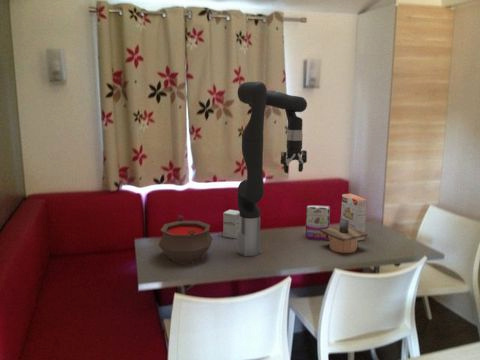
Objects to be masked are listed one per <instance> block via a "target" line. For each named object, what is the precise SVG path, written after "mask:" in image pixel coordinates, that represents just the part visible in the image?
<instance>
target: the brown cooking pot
mask: <svg viewBox="0 0 480 360" xmlns="http://www.w3.org/2000/svg"><path fill="white" fill-rule="evenodd" d="M210 227H211V225H210V224H209V223H206V222H202V221H200V220H184V217H183V216H182V215H179V216H178V217H177V221H173V222H169V223H165V224H163V226H162V227H161V229H160V231H161V233H162V235H161V238H160V240H159V243H158V247H159V248H160V249H161V250H162V251H163V252H164V254H165V256H166V257H168V258H169V260H170V259H171V261H172V260H173V262H174V261H175V262H174V263H176V262H177V263H176V264H192V262H193V263H196V262H199V261H201V260H202V259H203V257H204V256H205V255H206V254H207V251H208V250H209V249H210V247H211V246H212V243H213V242H212V241H213V237H212V235H211V233H210Z"/></svg>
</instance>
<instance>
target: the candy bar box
mask: <svg viewBox="0 0 480 360" xmlns="http://www.w3.org/2000/svg"><path fill="white" fill-rule="evenodd" d="M305 210H306V211H305V213H306V215H305V220H306V221H305V239H309V240H310V239H311V240H318V241H328V240H329V239H330V236H329V235H327V234H324V233H322V232H320V231H321V230H322V229H327V228H330V213H331V212H330V211H331V206H329V205H314V204H308V205H307V206H306V209H305Z"/></svg>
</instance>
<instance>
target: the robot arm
mask: <svg viewBox="0 0 480 360" xmlns="http://www.w3.org/2000/svg"><path fill="white" fill-rule="evenodd" d="M265 85H266V84H265V83H263V82H261V81H245V82H242V83H241V84H240V85H239V86H238V89H237V97H238V100H239V101H240V102H241V103H243V104H246V105H251V113H250V117H249V119H248V122H247V124H246V126H245V128H244V130H243V133H242V135H241V152H242V158H243V160H244V163H245V168H246V177H247V178H246V179H243V180H241V182H240V183H239V184H238V188H237V208H238V211H239V212H240V231H239V232H238V237H237V253H239V254H240V255H242V256H243V257H252V256H253V257H254V256H257V255H259V254H260V252H261V250H260V249H261V210H260V208H259V206H258V203H259V202H261V200H262V199H263V197H264V194H265V192H264V191H265V188H264V187H265V184H264V173H263V172H264V171H263V166H264V165H263V164H264V157H263V156H264V128H265V127H264V124H265V113H266V106H268V107H272V108H275V109H281V110H285V115H286V119H287V130H286V151H281V152H280V165H283V172H284V173H285V174H289V170H290V169H289V167H290V166H289V164H290V163H291V162H292V161H297V162H298V166H297V167H298V168H297V169H298V170H297V171H298V172H299V173H302V172H303V170H304V164H305V163H308V157H307V156H308V155H307V154H308V153H307V150H305V149H304V150H303V118H302V117H299V116H297V113H302V112H304V111H305V110H306V109H307V108H308V107H307V106H308V102H307V100H306V98H304V97H303V96H300V95H299V96H298V95H291V94H287V93H284V92H280V91H275V90H273V91H272V90H267V88H266V87H267V86H265Z"/></svg>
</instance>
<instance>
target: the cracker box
mask: <svg viewBox="0 0 480 360" xmlns="http://www.w3.org/2000/svg"><path fill="white" fill-rule="evenodd" d="M341 196H342V197H341V209H340V210H341V212H340V220H341V219H346V220H349V227H350V228H353V229H356V230H358V231H361V232H364V233H366V224H367V223H366V222H367V221H366V220H367V209H368V208H367V207H368V199H366V198H363V197H361V196H359V195H356V194H353V193H343V194H342V195H341ZM365 238H366V236H365V237H360V238H357V242H360V241H365Z"/></svg>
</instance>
